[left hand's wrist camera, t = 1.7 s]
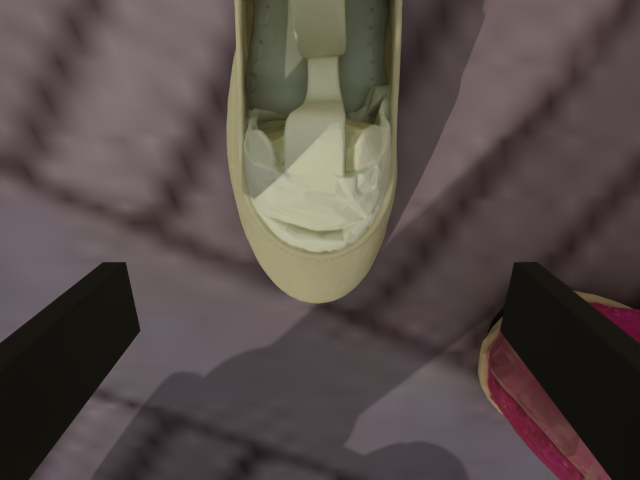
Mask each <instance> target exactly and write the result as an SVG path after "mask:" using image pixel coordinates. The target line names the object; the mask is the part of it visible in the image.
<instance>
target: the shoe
mask: <svg viewBox="0 0 640 480" xmlns="http://www.w3.org/2000/svg"><path fill="white" fill-rule="evenodd" d="M573 291H574V290H573ZM574 292H575V293H577V294H578V295H579V296H580V297H582V298H583V299H584V300H586V301H587V302H588V303H589V304H591V305H592V306H593V307H594V308H596V309H597V310H598V311H600V312H601V313H602V314H603V315H605V316H606V317H607V318H608V319H610V320H611V321H612V322H614V323H615V324H616V325H617V326H619V327H620V328H621V329H622V330H624V331H625V332H626V333H627V334H629V335H630V336H631V337H633V338H634V339H635V340H636V341H638V342H640V310H637V309H633V308H631V307H628V306H626V305H623V304H621V303H618V302H616V301H613V300H610V299H607V298H604V297H601V296H598V295H594V294H589V293H584V292H579V291H574ZM501 322H502V318H501V319H500V320H499V321H498V322H497V323H496V324H495V325H494V326H493V327H492V329H491V330H490V332H489V334H488V335H487V337H486V338H485V340H484V341H483V343H482V347H481V350H480V358H479V366H478V375H479V379H480V384H481V386H482V388H483V390H484V392H485V394H486V396H487V398H488V399H489V401H490V402H491V403H492V404H493V405H494V407H495V408H496V409H497V410H498V411H499V412H500V413H501V414H503V415H504V416H505V417H506V418H507V419H508V421H509V422H510V424H511V425H512V427H513V428H514V430H515V431H516V432H517V434H518V435H519V436H520V437H521V438H522V440H523V441H524V442H525V443H526V444H527V446H528V447H529V448H530V449H531V450H532V451H533V453H534V454H535V455H536V456H537V457H538V458H539V459H540V460H541V461H542V462H543V463H544V464H545V465H546V466H547V467H548V468H549V469H550V470H551V471H552V472H553V473H554V474H555V475H556V476H557V477H558V478H559V479H560V480H611V478H610V477H609V476H608V474H607V473H606V472H605V470H604V469H603V468H602V466H601V465H600V464H599V462H598V461H597V460H596V458H595V457H594V456H593V454H592V453H591V452H590V450H589V449H588V448H587V446H586V445H585V444H584V442H583V441H582V440H581V438H580V437H579V436H578V434H577V433H576V432H575V430H574V429H573V428H572V426H571V425H570V424H569V422H568V421H567V420H566V418H565V417H564V416H563V414H562V413H561V412H560V410H559V409H558V408H557V406H556V405H555V404H554V402H553V401H552V400H551V398H550V397H549V396H548V394H547V393H546V392H545V390H544V389H543V388H542V386H541V385H540V384H539V382H538V381H537V380H536V378H535V377H534V376H533V374H532V373H531V372H530V370H529V369H528V368H527V366H526V365H525V364H524V363H523V361H522V360H521V359H520V357H519V356H518V355H517V353H516V352H515V351H514V349H513V348H512V347H511V345H510V344H509V343H508V341H507V340H506V339H505V337H504V336H503V335H502V333H501V332H500V326H501Z"/></svg>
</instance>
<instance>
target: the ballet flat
mask: <svg viewBox="0 0 640 480" xmlns="http://www.w3.org/2000/svg"><path fill="white" fill-rule="evenodd" d="M234 1H235V27H236V51H235V55H234V59H233V67H232V74H231V81H230V89H229V97H228V114H227V156H228V164H229V171H230V177H231V183H232V187H233V192H234V196H235V200H236V204H237V208H238V212H239V216H240V220H241V223H242V226H243V228H244V231H245V234H246V237H247V239H248V241H249V243H250V245H251V247H252V249H253V252H254V254H255V256H256V258H257V260H258V262H259V263H260V265H261V267H262V268H263V269H264V271H265V272H266V274H267V275H268V276H269V277H270V279H271V280H272V281H273V282H274V283H275V284H276V285H277V286H278V287H279V288H280V289H281V290H283V291H284V292H285V293H287V294H288V295H289V296H291V297H294V298H296V299H298V300H300V301H304V302H309V303H325V302H331V301H334V300H337V299H339V298H341V297H343V296H345V295H346V294H348V293H349V292H351V291H352V290H353V289H354V288H356V287H357V286H358V284H359V283H360V282H361V281H362V280H363V278H364V277H365V276H366V275H367V273H368V272H369V270H370V268H371V266H372V264H373V262H374V261H375V259H376V257H377V254H378V252H379V250H380V247H381V245H382V242H383V239H384V237H385V234H386V229H387V223H388V220H389V217H390V214H391V210H392V207H393V203H394V197H395V190H396V184H397V172H398V170H397V116H398V95H399V77H400V55H401V32H402V0H234Z"/></svg>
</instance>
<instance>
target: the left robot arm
mask: <svg viewBox="0 0 640 480" xmlns="http://www.w3.org/2000/svg"><path fill="white" fill-rule="evenodd" d="M139 332H140V326H139V322H138V317H137V313H136V308H135V303H134V299H133V294H132V289H131V285H130V280H129V276H128V271H127V266H126V262H103V263H101V264H100V265H99V266H98V267H96V268H95V269H94V270H93V271H91V272H90V273H89V274H88V275H86V276H85V277H84V278H82V279H81V280H80V281H79V282H77V283H76V284H75V285H74V286H72V287H71V288H70V289H68V290H67V291H66V292H65V293H63V294H62V295H61V296H60V297H58V298H57V299H56V300H54V301H53V302H52V303H51V304H49V305H48V306H47V307H46V308H44V309H43V310H42V311H40V312H39V313H38V314H37V315H35V316H34V317H33V318H32V319H30V320H29V321H28V322H26V323H25V324H24V325H23V326H21V327H20V328H19V329H18V330H16V331H15V332H14V333H13V334H11V335H10V336H9V337H7V338H6V339H5V340H4V341H2V342H1V343H0V480H29V478H30V477H31V476H32V474H33V473H34V472H35V470H36V469H37V468H38V466H39V465H40V464H41V462H42V461H43V460H44V458H45V457H46V456H47V454H48V453H49V452H50V450H51V449H52V448H53V446H54V445H55V444H56V442H57V441H58V440H59V438H60V437H61V436H62V434H63V433H64V432H65V430H66V429H67V428H68V426H69V425H70V424H71V422H72V421H73V420H74V418H75V417H76V416H77V414H78V413H79V412H80V410H81V409H82V408H83V406H84V405H85V404H86V402H87V401H88V400H89V398H90V397H91V396H92V394H93V393H94V392H95V390H96V389H97V388H98V386H99V385H100V384H101V382H102V381H103V380H104V378H105V377H106V376H107V374H108V373H109V372H110V370H111V369H112V368H113V366H114V365H115V364H116V363H117V361H118V360H119V359H120V357H121V356H122V355H123V353H124V352H125V351H126V349H127V348H128V347H129V345H130V344H131V343H132V341H133V340H134V339H135V337H136V336H137V335H138V333H139ZM500 332H501V333H502V335H503V336H504V337H505V339H506V340H507V341H508V343H509V344H510V345H511V347H512V348H513V349H514V351H515V352H516V353H517V355H518V356H519V357H520V359H521V360H522V361H523V363H524V364H525V365H526V366H527V368H528V369H529V370H530V372H531V373H532V374H533V376H534V377H535V378H536V380H537V381H538V382H539V384H540V385H541V386H542V388H543V389H544V390H545V392H546V393H547V394H548V396H549V397H550V398H551V400H552V401H553V402H554V404H555V405H556V406H557V408H558V409H559V410H560V412H561V413H562V414H563V416H564V417H565V418H566V420H567V421H568V422H569V424H570V425H571V426H572V428H573V429H574V430H575V432H576V433H577V434H578V436H579V437H580V438H581V440H582V441H583V442H584V444H585V445H586V446H587V448H588V449H589V450H590V452H591V453H592V454H593V456H594V457H595V458H596V460H597V461H598V462H599V464H600V465H601V466H602V468H603V469H604V470H605V472H606V473H607V474H608V476H609V477H610V478H611V480H640V342H638V341H636V340H635V339H634V338H633V337H631V336H630V335H629V334H627V333H626V332H625V331H624V330H622V329H621V328H620V327H619V326H617V325H616V324H615V323H614V322H612V321H611V320H610V319H608V318H607V317H606V316H605V315H603V314H602V313H601V312H600V311H598V310H597V309H596V308H594V307H593V306H592V305H591V304H589V303H588V302H587V301H586V300H584V299H583V298H582V297H580V296H579V295H578V294H577V293H575V292H574V291H573V290H572V289H570V288H569V287H568V286H566V285H565V284H564V283H563V282H561V281H560V280H559V279H558V278H556V277H555V276H554V275H552V274H551V273H550V272H549V271H547V270H546V269H545V268H544V267H542V266H541V265H540V264H539V263H537V262H514V266H513V271H512V276H511V280H510V285H509V289H508V294H507V299H506V303H505V308H504V312H503V317H502V322H501V326H500Z"/></svg>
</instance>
